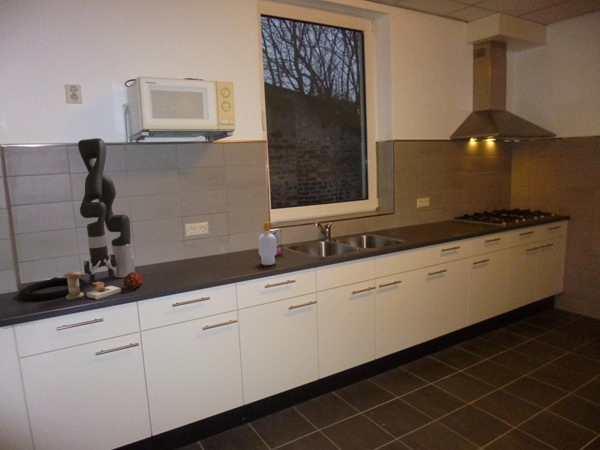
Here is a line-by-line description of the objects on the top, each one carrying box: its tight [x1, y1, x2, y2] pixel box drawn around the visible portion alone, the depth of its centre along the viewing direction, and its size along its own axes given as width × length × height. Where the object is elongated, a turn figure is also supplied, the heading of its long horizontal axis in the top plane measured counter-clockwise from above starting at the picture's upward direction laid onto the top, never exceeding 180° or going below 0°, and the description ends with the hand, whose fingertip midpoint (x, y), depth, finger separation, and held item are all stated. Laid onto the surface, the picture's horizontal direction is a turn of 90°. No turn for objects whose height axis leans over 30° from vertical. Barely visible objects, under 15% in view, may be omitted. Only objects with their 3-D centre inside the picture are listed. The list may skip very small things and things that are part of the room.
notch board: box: [86, 285, 122, 300], centre depth 187 cm, size 12×8×2 cm, turn 147°
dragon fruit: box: [123, 271, 144, 290], centre depth 196 cm, size 8×8×12 cm
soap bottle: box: [257, 221, 277, 266], centre depth 231 cm, size 10×10×24 cm
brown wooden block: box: [91, 281, 105, 293], centre depth 189 cm, size 3×4×5 cm
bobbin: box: [63, 271, 85, 301], centre depth 184 cm, size 7×7×11 cm
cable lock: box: [18, 276, 87, 302], centre depth 195 cm, size 28×4×30 cm
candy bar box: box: [262, 228, 283, 257], centre depth 252 cm, size 11×5×16 cm, turn 132°
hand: (102, 279), depth 187 cm, fingers open, 8 cm apart
